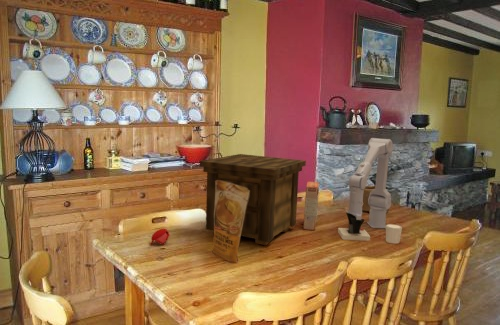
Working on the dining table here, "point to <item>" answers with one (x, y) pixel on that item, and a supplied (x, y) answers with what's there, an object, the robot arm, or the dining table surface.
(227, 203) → the pancake mix bag
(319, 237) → the dining table surface
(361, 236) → the socket plate
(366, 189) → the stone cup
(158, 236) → the cap
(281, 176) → the crate
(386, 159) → the robot arm
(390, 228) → the shot glass
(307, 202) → the cracker box
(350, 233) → the plug
